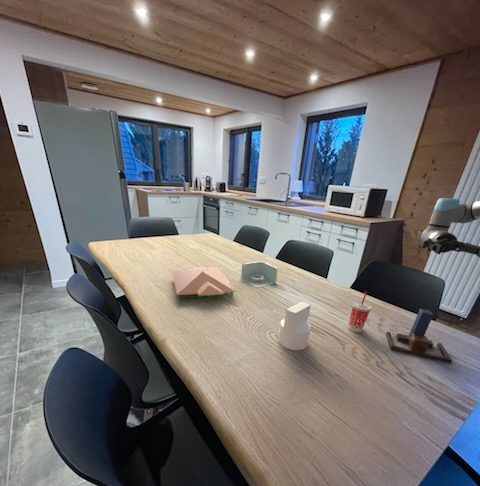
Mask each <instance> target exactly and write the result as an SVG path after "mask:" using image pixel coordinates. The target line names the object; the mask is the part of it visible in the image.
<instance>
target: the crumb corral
mask: <svg viewBox="0 0 480 486" xmlns="http://www.w3.org/2000/svg"><path fill="white" fill-rule="evenodd" d="M385 336H386V339H387V342H388V345H389V349H390V350H391V351H395V352H399V353H404V354H407V355H408V354H409V355H412V356H417V357H421V358H425V359H429V360H435V361H438V362H443V363H447V364H451V363H452V362H453V361H452V358H451V356H450V355H449V353H448V351H447V350H446V349H445V347H444V345H443V343H441V342H437V343H436V347H437V349H438V351H439V352H440V354H441V355H438V354H435V353H429V352H421V351H416V350H412V349H410V348H406V347H404V346H403V347H402V346H398V345H395V342H394V339H393V337H392V334H391V332H390V331H386V334H385Z"/></svg>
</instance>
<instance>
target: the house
mask: <svg viewBox="0 0 480 486" xmlns="http://www.w3.org/2000/svg"><path fill="white" fill-rule="evenodd" d="M171 274H172V278H173V283H174V288H175V292H176V296H177V297H178V302H182V300H180V298H181V297H183V296H188V295H192V298H196V300H195V299H192V302H197V301H201V299H202V297H205V298H204V301H205V302H206V303H211V302H214V300H208V297H210V299H216V296H217V302H220V301H221V297H223V296H227V295H229V296H230V297H226V300H228V299H229V300H230V299H233V298H234V293H236V290H235V289H234V287H233V286H232V284H231V282H230V281H229V280H228V278H227V277H226V276H225V274H224V273H223V271H222V270H221V268H220V267H217V266H216V267H215V266H201V267H199V266H198V267H189V268H188V269H187V270H180V271H172V272H171ZM193 295H194V296H193Z"/></svg>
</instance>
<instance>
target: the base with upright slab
mask: <svg viewBox="0 0 480 486" xmlns="http://www.w3.org/2000/svg"><path fill="white" fill-rule="evenodd" d="M311 305H312V304H311V303H309V302H307V301H303V300H302V301H300V302H298V303H296V304H294V305H292V306H289V307H288V308H286V310H285V315H284V317H285V318H283V319H281V321H280V324H279V329H278V336H277V342H278V344H279V345H280V346H282V347H283V348H286V349H288V350H292V351H301V350H304V349H306V348H307V347H308V343H309V342H308V341H309V339H310V338H309V337H310V333H311V329H312V325H311V324H310V323H309V322H308V320H309V316H310V311H311V307H312V306H311Z"/></svg>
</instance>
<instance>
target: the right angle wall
mask: <svg viewBox="0 0 480 486" xmlns="http://www.w3.org/2000/svg"><path fill="white" fill-rule="evenodd" d="M278 271H279V268H278V267H277V266H274V265H272V264H270V263H268V262H265V261H262V260H259V261H252V262H246V263H242V264H241V272H240V273H241V275H240V279H241V280H243V281H244V282H246V283H247V284H249V285H252V286H253V287H255V288H259V287H265V286H268V285H273V284H276V283H277V279H278V278H277V277H278V273H279V272H278Z"/></svg>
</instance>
